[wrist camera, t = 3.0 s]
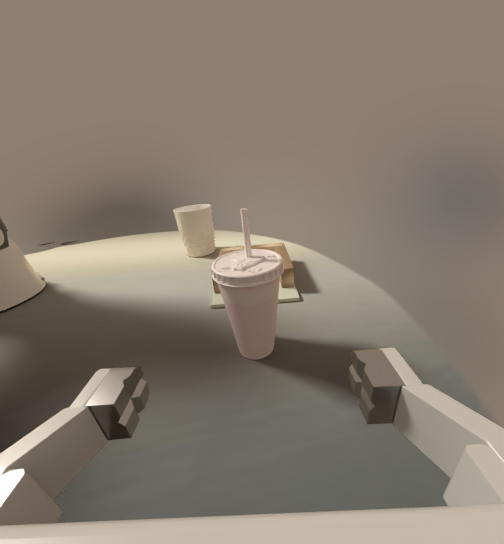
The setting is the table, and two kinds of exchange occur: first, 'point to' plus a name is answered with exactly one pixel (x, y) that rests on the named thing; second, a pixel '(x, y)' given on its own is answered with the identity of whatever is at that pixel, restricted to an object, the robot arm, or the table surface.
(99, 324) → the table surface
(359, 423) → the table surface
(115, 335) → the table surface
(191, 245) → the white cup
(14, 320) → the table surface
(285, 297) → the mat
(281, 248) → the rack
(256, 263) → the smoothie
